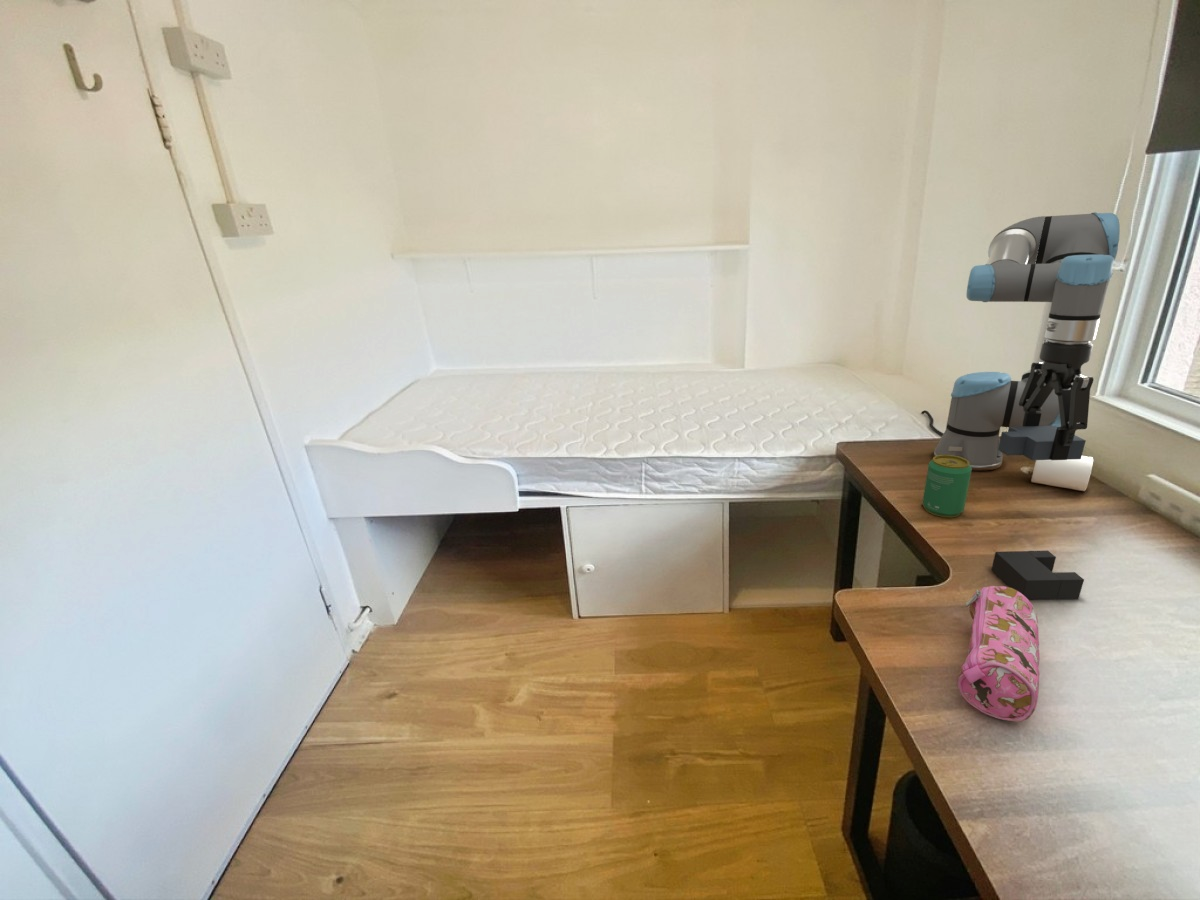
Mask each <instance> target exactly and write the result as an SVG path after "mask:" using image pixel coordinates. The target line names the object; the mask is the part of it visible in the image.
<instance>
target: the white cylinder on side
mask: <svg viewBox="0 0 1200 900" xmlns="http://www.w3.org/2000/svg"><path fill="white" fill-rule="evenodd" d="M1093 465H1094V457H1093V456H1086V455H1082V456H1081V459H1067V460H1035V463H1034V466H1033V471H1032V475H1031V479H1030V482H1031V483H1035V484H1040V485H1046V486H1050V487H1051V486H1052V487H1057V488H1064V489H1068V490H1074V491H1080V492H1085V491H1087V488H1088V485H1089V481H1090V478H1091V474H1092V470H1093Z"/></svg>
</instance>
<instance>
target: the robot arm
mask: <svg viewBox="0 0 1200 900" xmlns="http://www.w3.org/2000/svg"><path fill="white" fill-rule="evenodd" d="M1120 227H1121V226H1120V219H1119V217H1118V215H1116V213H1113V212H1096V211H1095V212H1094V211H1093V212H1090V213H1081V214H1080V213H1079V214H1064V215H1046V216H1045V215H1043V216H1041V215H1040V216H1034V217H1030V218H1026V219H1023V220H1020V221H1018V222H1015V223H1013V224H1011V225H1009V226H1007V227H1005V228H1004V229H1002V230H1000V231H999V232H998V233H997V234H996V235H995V236H994V237H993V239H992V240H991V242H990V244H989V245H988V250H987V255H988V260H987V262H986V264H980V265H979V264H978V265H974V266H972V268H971V269H970V271H969V276H968V280H967V286H966V294H965V295H966V299H967V300H968V301H971V302H982V303H989V302H990V303H993V302H994V303H996V302H997V303H1002V302H1003V303H1006V302H1007V303H1020V302H1021V303H1044V305H1043V310H1042V315H1041V319H1040V325H1039V330H1038V335H1037V340H1036V343H1035V344H1036V345H1035V349H1034V354H1033V359H1032V363H1031V365H1030V369H1029V370H1027V371H1025V372H1023V373H1022V374H1021V380H1012V376H1011V375H1010V374H1009V373H1006V372H1000V371H979V372H972V373H966V374H963V375H961V376H959V377H958V378H956V380H955V381H954V382H953V383H954V384H953V388H952V391H951V393H950V397H951V399H950V403H949V410H948V416H947V421H946V425H945V426H946V427H945V430H944V432H942V431H940V430H939V429H937V428H936V427H935V426H934V418H933V417H932V415H931V413H930V412H929V411H928V410H926V409H924V410H922V411H921V413H920V414H922V415H924V414H925V415H927V417H928V418H929V427H930V428H931V430H932V431H934V432H935V433H936V434H937V435H940V436H941V437H940V439H939V441H938V443H937V444H936V445H935V448H934V451H933V457H935V456H937V455H953V456H958V457H962V458H964V459H966V460H968V461H969V463H970V464H969V465H970V466H971V468H972V472H973V471H975V472H985V471H986V472H987V471H992V470H997V469H999V468H1000V467H1001V466H1002V464H1003V457H1004V456H1003V452H1001V451H1000V450H998V448H999V443H1000V431H1001V428H1009V427H1022V426H1057V430H1056V434H1055V438H1054V442H1053V446H1052V450H1051V454H1050V458H1049V459H1051V460H1067V457H1068V453H1069V449H1070V446H1071V445H1072V443H1073V439H1074V435H1075V436H1076V431H1078V430H1086V429H1087V428H1088V422H1089V409H1090V408H1089V407H1090V398H1091V388H1092V386H1093V383H1094V377H1093V376H1085V375H1083V374H1082V366H1083V365H1084V364H1087V363H1088V362H1089V361H1090V359H1091V356H1092V351H1093V347H1094V344H1093V343H1092V341H1094V340H1096V337H1097V333H1098V328H1099V325H1100V321H1101V314H1102V311H1103V306H1104V303H1105V299H1106V296H1107V292H1108V288H1109V285H1110V281H1111V279H1112V277H1113V274H1114V272H1113V270H1114V269H1113V268H1114V262H1115V260H1116V258H1117V255H1118V250H1119V242H1120V232H1121V231H1120V230H1121V229H1120Z"/></svg>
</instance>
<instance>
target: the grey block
mask: <svg viewBox="0 0 1200 900" xmlns="http://www.w3.org/2000/svg"><path fill="white" fill-rule="evenodd" d="M1056 430H1057V426H1022V427H1008V430H1007V431H1001V434H1000V437H999V440H1000V443H999V448H998V450H1000V451H1001V452H1002V454H1004V455H1006V456H1024V457H1026V458H1027V459H1029V460H1031V461H1036V460H1051V459H1049V458H1050V454H1051V450H1052V446H1053V442H1054V438H1055V434H1056ZM1086 441H1087V440H1086V439H1084V438H1081V437H1080V436H1078V435H1076V434H1075V435H1074V439H1073V443H1072V445H1071V446H1070V449H1069V453H1068V457H1067V459H1081V456H1083V453H1084V449H1085V445H1086Z"/></svg>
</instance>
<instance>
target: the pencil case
mask: <svg viewBox="0 0 1200 900" xmlns="http://www.w3.org/2000/svg"><path fill="white" fill-rule="evenodd" d="M964 605H965V607H966V608H968V607H969V614H970V617H971V619H972V623H971V634H970V638H969V643H968V652H967V653H968V654H967V656H966V658H965V660H964V662H963V664H962V665H961V667H960V669H959V671H958V673H957V677H956V684H957V689H958V691H959V693H960V694H961V696H962V697H963V699H964V700H965V701H966V702H967V703H968V704H969V705H971V706H972V707H974V709H976V710H978V711H979V712H981V713H982V714H984V715H987V716H989V717H992V718H996V719H997V720H1001V721H1002V720H1003V721H1009V722H1016V723H1017V722H1019V723H1020V722H1025V721H1027V720H1028V719H1030V718H1031V717H1032V715H1033V714H1034V712H1035V710H1036V708H1037V703H1038V698H1039V689H1040V688H1039V686H1040V668H1039V666H1040V635H1039V633H1040V632H1039V619H1038V614H1037V612H1036V610H1035V607H1034V605H1033V604H1032V603H1031V600H1028V599H1027V598H1026V597H1025V596H1024V595H1023V594H1021V593H1020V592H1018V591H1017V590H1015V589H1013V588H1010V587H1008V586H1004V585H1003V586H1002V585H1001V586H1000V585H999V586H998V585H997V586H996V585H990V586H986V587H985V586H983V587H982V588H981V589H980V590H979V589H976V590H975V591H974V593H973V594H972V596H971V598H970V599H969V600H968V601H967V602H965V604H964Z"/></svg>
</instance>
